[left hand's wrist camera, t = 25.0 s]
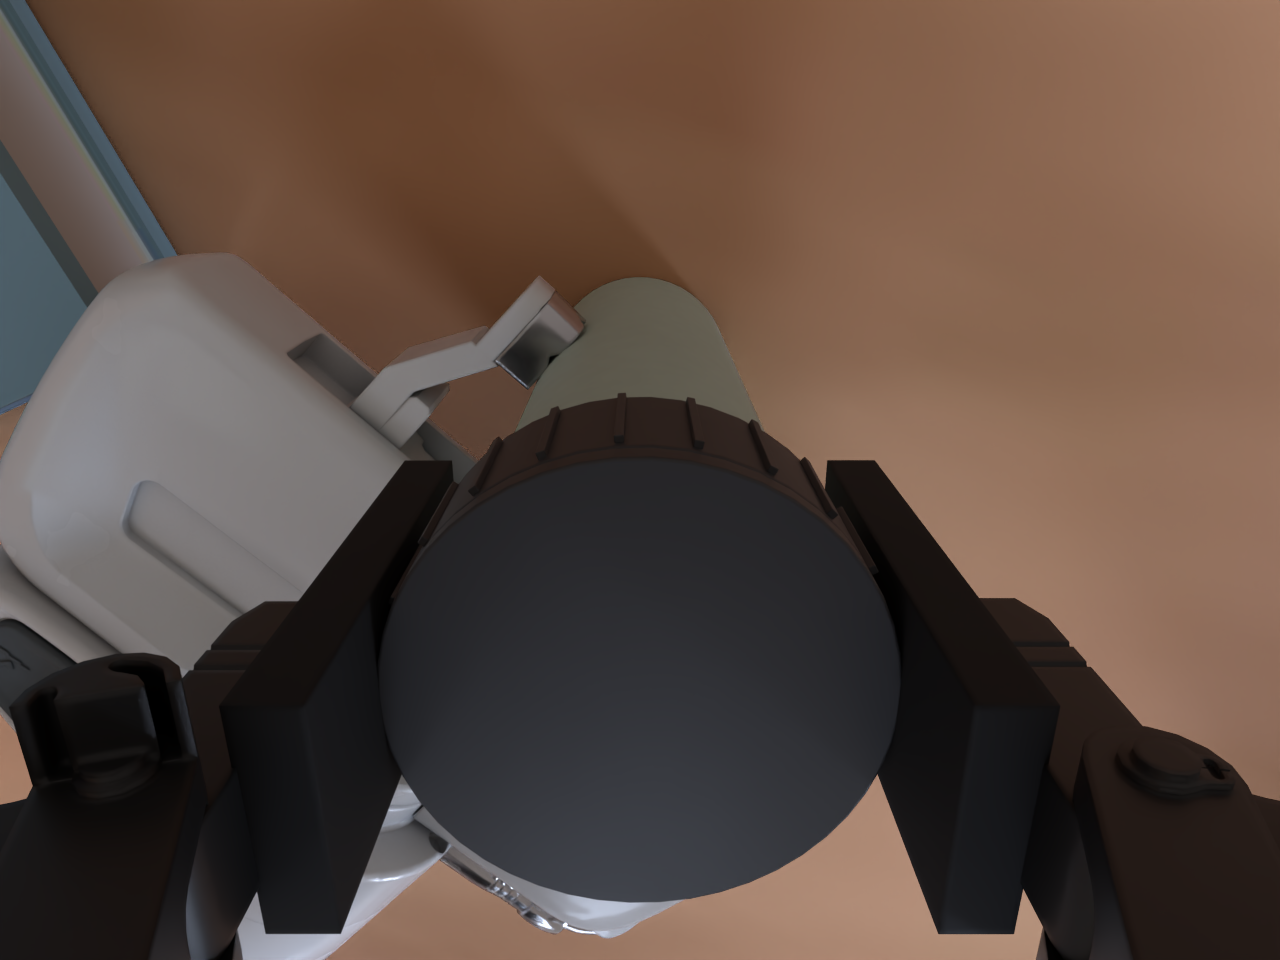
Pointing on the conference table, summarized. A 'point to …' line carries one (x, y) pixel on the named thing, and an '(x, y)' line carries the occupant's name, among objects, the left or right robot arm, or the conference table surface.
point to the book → (55, 206)
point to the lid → (639, 655)
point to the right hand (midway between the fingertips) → (665, 399)
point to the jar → (642, 353)
